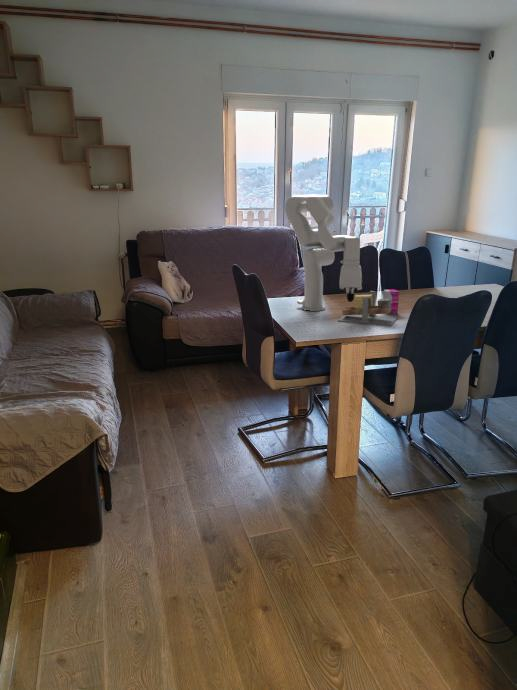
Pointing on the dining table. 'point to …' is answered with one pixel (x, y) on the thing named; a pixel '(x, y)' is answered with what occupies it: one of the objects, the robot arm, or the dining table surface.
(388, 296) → the supplement box
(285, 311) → the dining table surface
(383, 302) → the beam
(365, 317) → the stand
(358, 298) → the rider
